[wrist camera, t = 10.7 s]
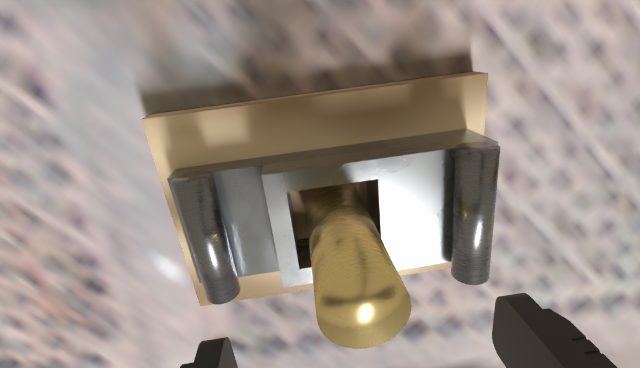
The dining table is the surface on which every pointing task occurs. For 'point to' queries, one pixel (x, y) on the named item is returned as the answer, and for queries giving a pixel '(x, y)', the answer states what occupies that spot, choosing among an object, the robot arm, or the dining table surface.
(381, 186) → the clamp block fixture
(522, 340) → the robot arm
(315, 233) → the brass pin
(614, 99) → the dining table surface
